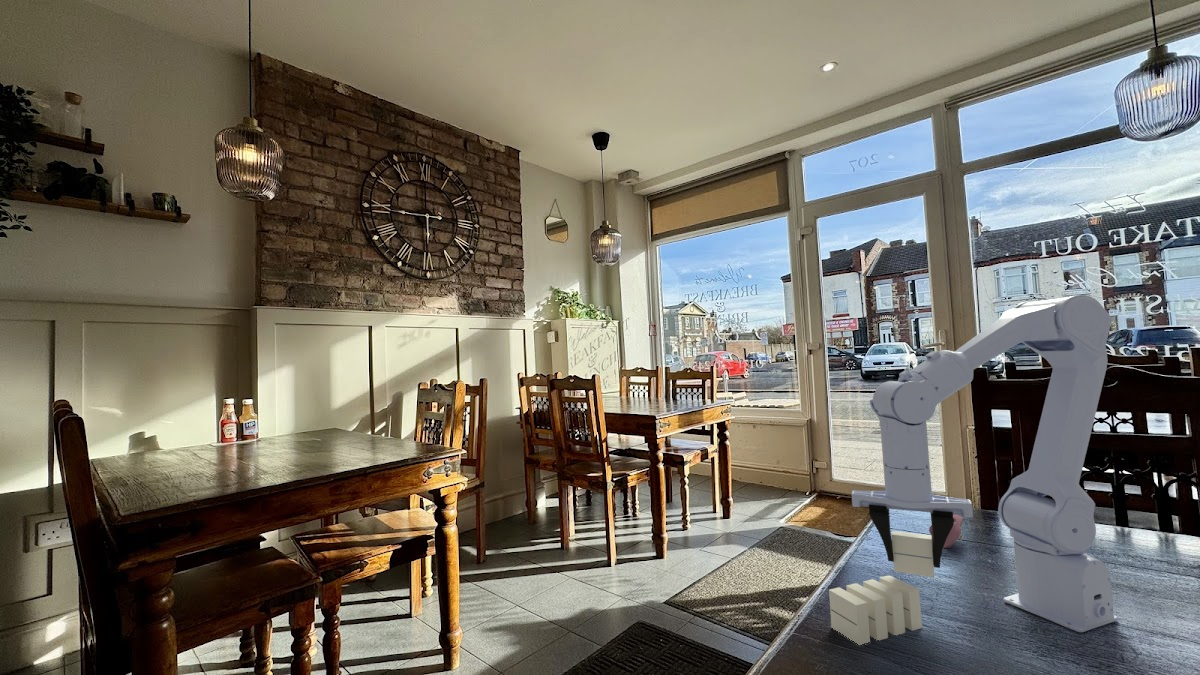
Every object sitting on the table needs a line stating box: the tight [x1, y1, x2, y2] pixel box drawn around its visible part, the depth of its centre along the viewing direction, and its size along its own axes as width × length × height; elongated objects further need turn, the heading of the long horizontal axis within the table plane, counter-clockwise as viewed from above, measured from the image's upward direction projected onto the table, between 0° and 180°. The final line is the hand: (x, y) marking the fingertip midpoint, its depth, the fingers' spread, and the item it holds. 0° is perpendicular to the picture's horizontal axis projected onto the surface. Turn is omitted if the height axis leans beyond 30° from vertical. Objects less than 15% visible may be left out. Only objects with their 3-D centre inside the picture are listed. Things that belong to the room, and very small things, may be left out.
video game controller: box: [928, 515, 964, 550], centre depth 96 cm, size 10×5×7 cm, turn 143°
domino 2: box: [845, 582, 889, 641], centre depth 69 cm, size 5×2×5 cm, turn 18°
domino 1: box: [828, 586, 871, 646], centre depth 68 cm, size 5×2×5 cm, turn 18°
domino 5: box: [879, 574, 923, 632], centre depth 71 cm, size 5×2×5 cm, turn 18°
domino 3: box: [862, 578, 906, 636], centre depth 70 cm, size 5×2×5 cm, turn 18°
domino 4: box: [891, 530, 935, 579], centre depth 72 cm, size 5×2×5 cm, turn 57°
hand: (913, 561), depth 72 cm, fingers closed on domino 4, 5 cm apart
